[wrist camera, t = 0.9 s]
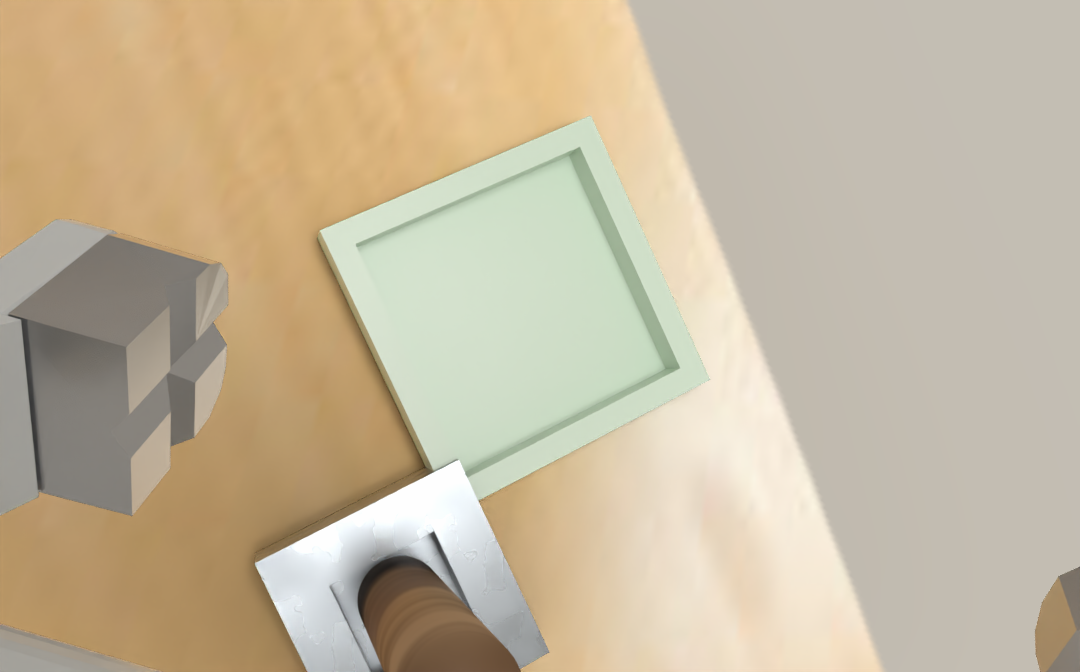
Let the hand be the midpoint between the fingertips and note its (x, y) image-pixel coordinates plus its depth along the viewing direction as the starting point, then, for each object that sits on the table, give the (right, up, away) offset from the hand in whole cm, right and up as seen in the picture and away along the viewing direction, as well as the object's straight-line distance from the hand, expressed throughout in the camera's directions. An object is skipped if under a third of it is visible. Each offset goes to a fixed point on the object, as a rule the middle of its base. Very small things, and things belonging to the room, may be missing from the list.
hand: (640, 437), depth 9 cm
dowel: (-8, -12, +39) cm, 41 cm away
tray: (-2, +2, +42) cm, 42 cm away
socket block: (-8, -12, +39) cm, 42 cm away
